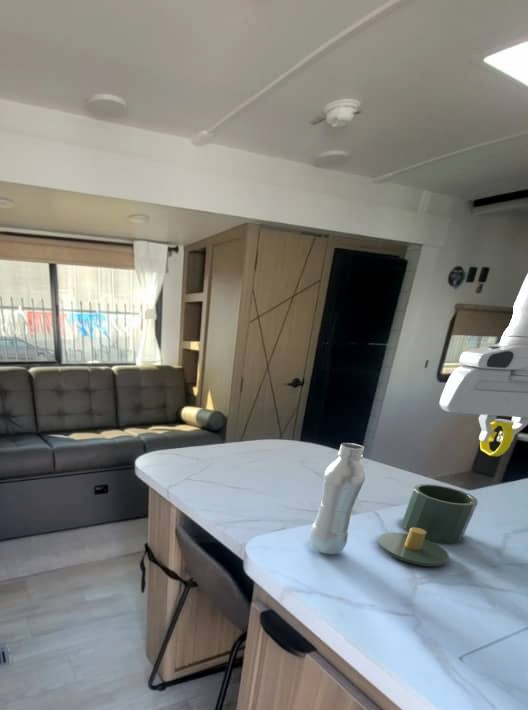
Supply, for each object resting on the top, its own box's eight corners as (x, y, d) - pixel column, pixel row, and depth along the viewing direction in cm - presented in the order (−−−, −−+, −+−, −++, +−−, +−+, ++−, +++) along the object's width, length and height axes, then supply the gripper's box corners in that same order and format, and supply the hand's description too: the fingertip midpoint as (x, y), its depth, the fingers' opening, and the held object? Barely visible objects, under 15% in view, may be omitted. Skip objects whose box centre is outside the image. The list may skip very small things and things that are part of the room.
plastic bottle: (308, 555, 74) (335, 449, 65) (304, 538, 80) (328, 439, 71) (346, 561, 72) (379, 454, 64) (339, 543, 78) (368, 442, 70)
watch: (471, 448, 74) (484, 416, 72) (488, 449, 74) (501, 417, 71) (490, 458, 69) (505, 423, 67) (508, 459, 69) (524, 425, 66)
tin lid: (429, 541, 81) (438, 520, 78) (458, 573, 70) (469, 550, 68) (368, 534, 82) (375, 513, 80) (388, 564, 72) (396, 541, 70)
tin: (446, 522, 89) (460, 487, 85) (471, 546, 79) (489, 507, 76) (394, 517, 90) (406, 482, 87) (413, 539, 81) (427, 501, 77)
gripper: (588, 359, 66) (548, 441, 72) (451, 352, 69) (423, 432, 75) (621, 362, 60) (575, 451, 66) (471, 355, 63) (440, 441, 69)
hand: (494, 441), depth 71 cm, fingers closed on watch
